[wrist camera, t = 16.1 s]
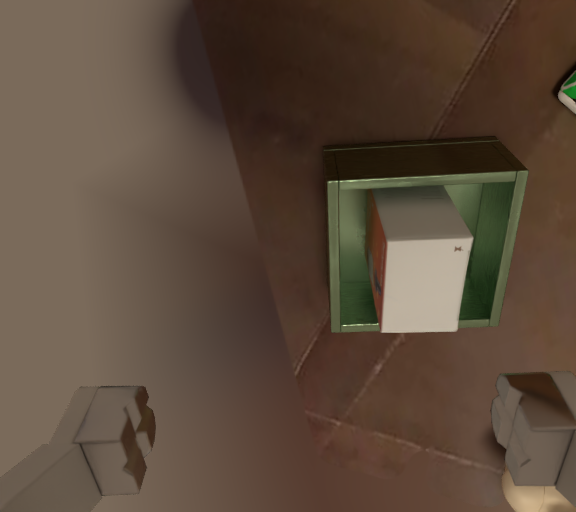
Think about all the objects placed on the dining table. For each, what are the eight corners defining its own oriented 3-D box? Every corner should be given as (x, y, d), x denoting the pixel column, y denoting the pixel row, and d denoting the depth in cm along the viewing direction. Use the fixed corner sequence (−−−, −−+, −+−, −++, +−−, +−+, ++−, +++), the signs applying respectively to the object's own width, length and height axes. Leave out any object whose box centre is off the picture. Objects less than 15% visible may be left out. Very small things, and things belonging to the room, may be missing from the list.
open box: (327, 284, 48) (331, 333, 42) (323, 145, 41) (327, 181, 35) (473, 278, 47) (498, 326, 42) (495, 135, 40) (529, 170, 34)
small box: (366, 172, 41) (385, 238, 32) (437, 170, 41) (475, 235, 32) (362, 256, 45) (378, 335, 36) (426, 255, 45) (458, 333, 36)
